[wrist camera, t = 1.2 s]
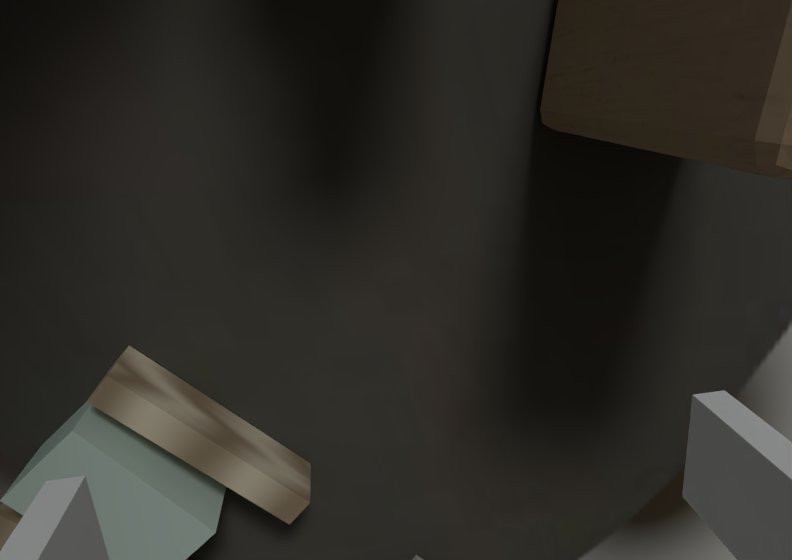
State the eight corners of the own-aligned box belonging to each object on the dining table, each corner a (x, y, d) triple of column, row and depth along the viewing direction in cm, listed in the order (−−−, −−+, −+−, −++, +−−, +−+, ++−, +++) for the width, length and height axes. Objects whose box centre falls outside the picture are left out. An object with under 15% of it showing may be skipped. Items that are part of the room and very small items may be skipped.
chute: (9, 491, 39) (-24, 536, 35) (129, 345, 37) (107, 375, 33) (194, 590, 43) (182, 639, 39) (310, 463, 41) (309, 502, 37)
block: (42, 443, 39) (-1, 500, 33) (106, 381, 38) (72, 430, 33) (167, 530, 42) (145, 594, 36) (228, 475, 41) (215, 532, 36)
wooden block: (687, 142, 37) (1066, 207, 18) (531, 126, 36) (768, 180, 17) (731, -39, 34) (1236, -183, 15) (562, -64, 33) (892, -257, 14)
